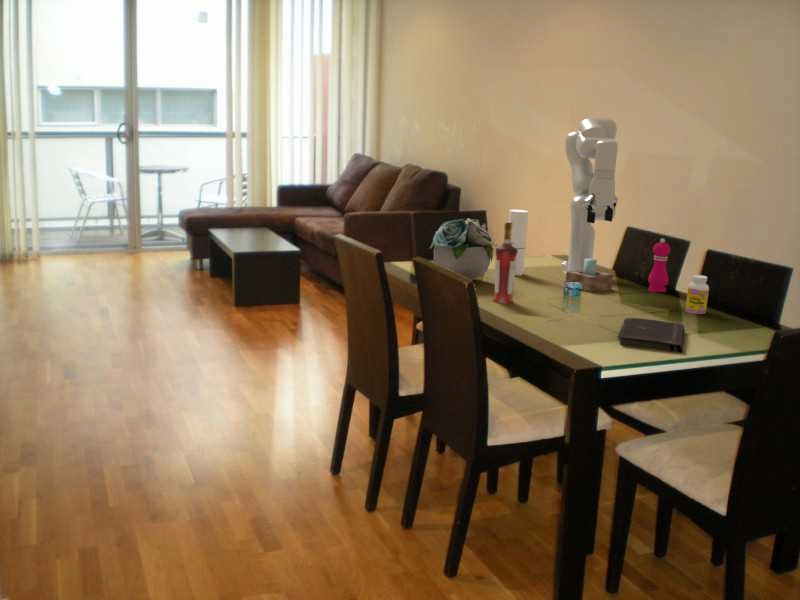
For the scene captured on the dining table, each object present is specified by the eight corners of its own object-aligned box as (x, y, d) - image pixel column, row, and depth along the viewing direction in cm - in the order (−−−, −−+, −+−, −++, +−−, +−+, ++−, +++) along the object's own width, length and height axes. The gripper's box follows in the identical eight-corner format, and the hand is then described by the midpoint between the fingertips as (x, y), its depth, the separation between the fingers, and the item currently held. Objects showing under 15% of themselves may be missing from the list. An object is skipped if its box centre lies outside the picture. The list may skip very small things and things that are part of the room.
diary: (683, 339, 275) (685, 323, 274) (681, 361, 252) (683, 343, 251) (620, 331, 281) (622, 316, 280) (613, 352, 258) (614, 335, 257)
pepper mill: (662, 294, 334) (668, 240, 329) (643, 291, 338) (649, 238, 334) (670, 291, 340) (676, 238, 335) (651, 288, 344) (657, 236, 339)
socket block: (565, 287, 339) (566, 271, 338) (586, 284, 347) (587, 268, 345) (590, 293, 330) (592, 277, 329) (611, 290, 338) (613, 274, 336)
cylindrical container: (510, 271, 365) (515, 209, 359) (526, 274, 361) (531, 211, 355) (501, 273, 359) (506, 210, 353) (517, 276, 355) (522, 212, 349)
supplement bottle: (684, 314, 305) (688, 277, 302) (685, 310, 311) (689, 273, 308) (705, 317, 303) (710, 279, 300) (705, 312, 309) (710, 275, 306)
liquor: (493, 301, 312) (498, 220, 305) (514, 303, 310) (520, 221, 304) (490, 306, 305) (496, 223, 298) (512, 308, 303) (518, 224, 297)
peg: (579, 285, 338) (582, 259, 336) (587, 284, 341) (589, 258, 339) (589, 288, 335) (591, 261, 333) (596, 286, 338) (599, 260, 335)
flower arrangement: (501, 290, 329) (506, 223, 324) (434, 290, 325) (437, 222, 319) (484, 276, 353) (488, 213, 348) (421, 275, 349) (424, 212, 343)
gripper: (611, 172, 338) (607, 218, 342) (580, 174, 328) (575, 221, 332) (627, 175, 332) (622, 221, 336) (596, 177, 322) (591, 225, 326)
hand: (599, 221), depth 334 cm, fingers open, 9 cm apart
